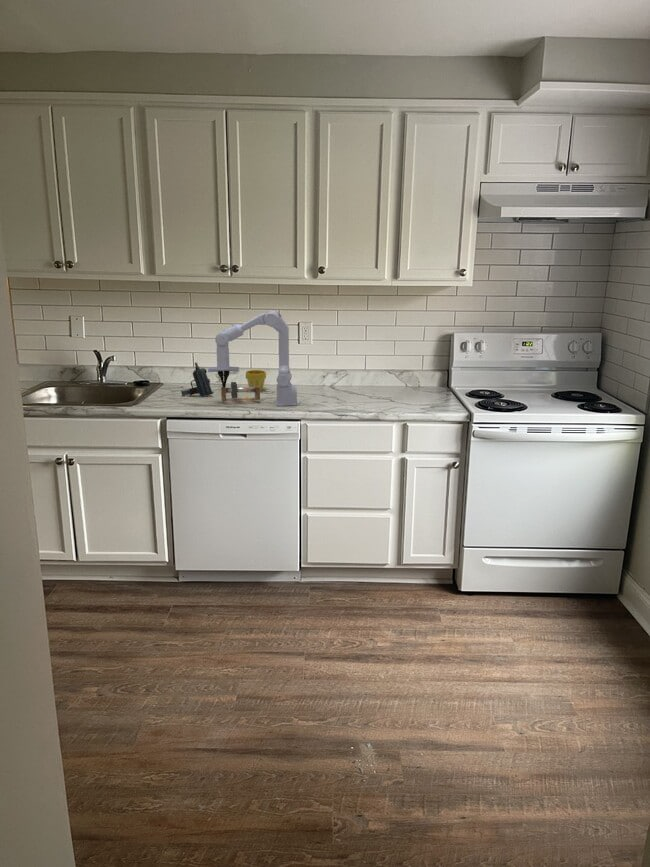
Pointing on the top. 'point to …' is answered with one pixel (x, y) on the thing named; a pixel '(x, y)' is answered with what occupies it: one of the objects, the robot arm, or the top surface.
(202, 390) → the gun
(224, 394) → the pipe stand
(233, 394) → the collar
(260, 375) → the plant pot
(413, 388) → the top surface
